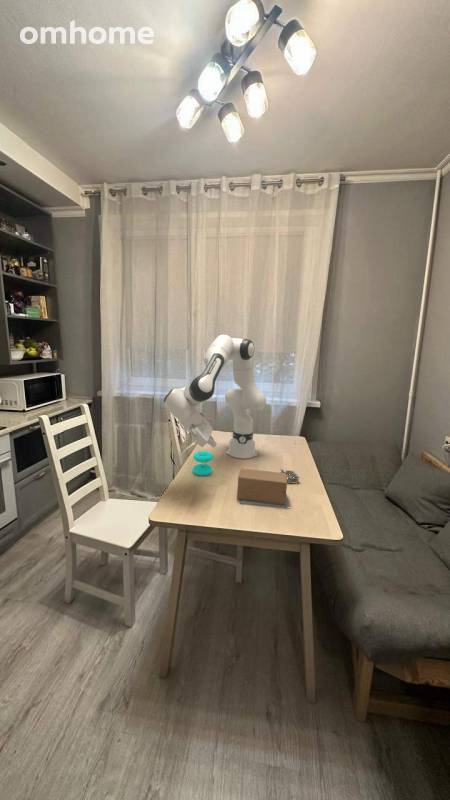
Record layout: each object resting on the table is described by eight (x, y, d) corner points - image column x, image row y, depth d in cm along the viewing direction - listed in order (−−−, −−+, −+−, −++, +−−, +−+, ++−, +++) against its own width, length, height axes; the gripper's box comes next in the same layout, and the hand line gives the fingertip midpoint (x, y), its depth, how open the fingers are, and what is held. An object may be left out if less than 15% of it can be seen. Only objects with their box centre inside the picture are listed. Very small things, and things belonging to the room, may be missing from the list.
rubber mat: (241, 488, 141) (241, 487, 141) (285, 492, 140) (285, 490, 140) (240, 503, 127) (240, 502, 127) (289, 508, 126) (289, 506, 126)
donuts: (193, 457, 149) (193, 450, 158) (193, 476, 150) (192, 468, 160) (214, 457, 150) (212, 450, 160) (213, 476, 152) (211, 468, 162)
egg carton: (278, 475, 158) (278, 467, 157) (292, 475, 159) (293, 467, 158) (285, 484, 148) (285, 476, 147) (300, 484, 149) (300, 476, 148)
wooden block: (236, 499, 130) (285, 505, 127) (238, 476, 128) (287, 482, 125) (239, 488, 139) (284, 494, 136) (240, 467, 138) (286, 472, 135)
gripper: (194, 423, 120) (218, 449, 121) (202, 412, 140) (222, 434, 141) (183, 433, 121) (206, 459, 122) (192, 421, 141) (212, 443, 142)
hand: (215, 445), depth 132 cm, fingers closed
